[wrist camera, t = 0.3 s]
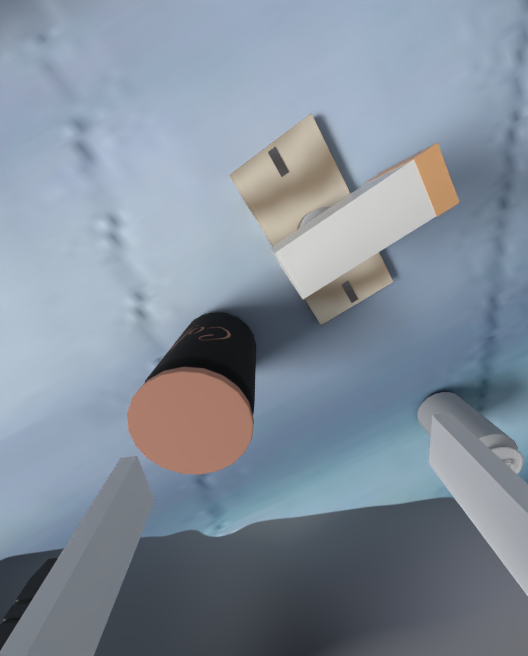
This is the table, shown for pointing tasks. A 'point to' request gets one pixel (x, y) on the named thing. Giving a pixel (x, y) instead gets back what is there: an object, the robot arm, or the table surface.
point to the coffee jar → (199, 398)
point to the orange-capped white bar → (367, 221)
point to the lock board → (305, 208)
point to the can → (471, 426)
